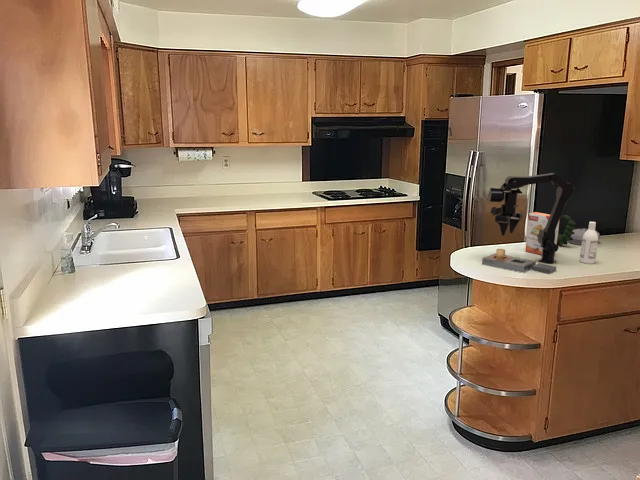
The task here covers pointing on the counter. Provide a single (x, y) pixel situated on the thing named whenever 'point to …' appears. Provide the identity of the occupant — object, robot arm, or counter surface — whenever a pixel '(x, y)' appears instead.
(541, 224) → the cracker box
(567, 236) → the toy figurine
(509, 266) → the plate
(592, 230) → the bath foam
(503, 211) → the robot arm
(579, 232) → the grey rounded bag
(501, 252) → the barrel peg
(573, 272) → the counter surface
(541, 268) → the grey square base
